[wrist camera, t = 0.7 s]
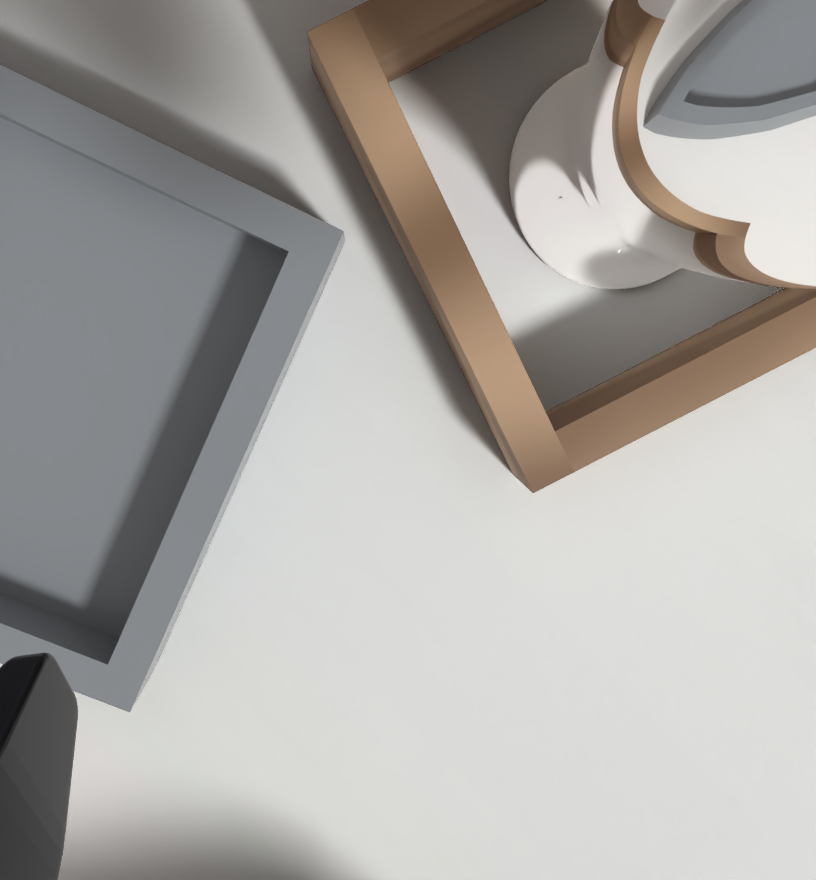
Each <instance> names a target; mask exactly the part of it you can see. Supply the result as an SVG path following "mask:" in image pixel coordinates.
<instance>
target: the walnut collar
mask: <svg viewBox="0 0 816 880" xmlns="http://www.w3.org/2000/svg"><path fill="white" fill-rule="evenodd" d="M545 1H547V0H369V1H367V2H365V3H363V4H361V5H359V6H357V7H355V8H353V9H351V10H349V11H347V12H345V13H344V14H342V15H340V16H338V17H336V18H334V19H332V20H330V21H328V22H326V23H324V24H322V25H320V26H318V27H316V28H315V29H313V30H311V31H309V32H307V36H308V43H309V49H310V56H311V63H312V68H313V70H314V73H315V75H316V77H317V79H318V81H319V83H320V85H321V87H322V89H323V91H324V93H325V95H326V97H327V99H328V101H329V103H330V105H331V107H332V109H333V111H334V113H335V115H336V117H337V119H338V121H339V123H340V125H341V127H342V129H343V131H344V133H345V135H346V137H347V139H348V141H349V143H350V145H351V147H352V149H353V152H354V154H355V156H356V158H357V160H358V162H359V164H360V166H361V168H362V170H363V172H364V174H365V176H366V178H367V180H368V182H369V184H370V186H371V188H372V190H373V192H374V194H375V196H376V198H377V200H378V202H379V204H380V206H381V208H382V210H383V212H384V214H385V216H386V218H387V220H388V222H389V224H390V226H391V228H392V230H393V233H394V235H395V237H396V239H397V241H398V243H399V245H400V247H401V249H402V251H403V253H404V255H405V257H406V259H407V261H408V263H409V265H410V267H411V269H412V271H413V273H414V275H415V277H416V279H417V281H418V283H419V285H420V287H421V289H422V291H423V293H424V295H425V297H426V299H427V301H428V303H429V305H430V307H431V309H432V312H433V314H434V316H435V318H436V320H437V322H438V324H439V326H440V328H441V330H442V332H443V334H444V336H445V338H446V340H447V342H448V344H449V346H450V348H451V350H452V352H453V354H454V356H455V358H456V360H457V362H458V364H459V366H460V368H461V370H462V372H463V374H464V376H465V378H466V380H467V382H468V384H469V386H470V388H471V390H472V393H473V395H474V397H475V399H476V401H477V403H478V405H479V407H480V409H481V411H482V413H483V415H484V417H485V419H486V421H487V423H488V425H489V427H490V429H491V431H492V433H493V435H494V437H495V439H496V441H497V443H498V445H499V447H500V449H501V451H502V453H503V455H504V457H505V459H506V461H507V463H508V465H509V467H510V469H511V472H512V474H513V475H514V476H515V477H516V478H517V479H518V480H520V481H521V482H522V483H523V484H524V485H525V486H526V487H527V488H528V489H529V490H530V491H531V492H533V493H534V492H536V491H538V490H540V489H542V488H544V487H546V486H548V485H550V484H552V483H554V482H556V481H558V480H560V479H561V478H563V477H565V476H567V475H569V474H571V473H573V472H575V471H577V470H579V469H581V468H583V467H585V466H587V465H589V464H591V463H593V462H594V461H596V460H598V459H600V458H602V457H604V456H606V455H608V454H610V453H612V452H614V451H616V450H618V449H620V448H622V447H624V446H626V445H627V444H629V443H631V442H633V441H635V440H637V439H639V438H641V437H643V436H645V435H647V434H649V433H651V432H653V431H655V430H657V429H659V428H661V427H662V426H664V425H666V424H668V423H670V422H672V421H674V420H676V419H678V418H680V417H682V416H684V415H686V414H688V413H690V412H692V411H694V410H695V409H697V408H699V407H701V406H703V405H705V404H707V403H709V402H711V401H713V400H715V399H717V398H719V397H721V396H723V395H725V394H727V393H728V392H730V391H732V390H734V389H736V388H738V387H740V386H742V385H744V384H746V383H748V382H750V381H752V380H754V379H756V378H758V377H760V376H761V375H763V374H765V373H767V372H769V371H771V370H773V369H775V368H777V367H779V366H781V365H783V364H785V363H787V362H789V361H791V360H793V359H794V358H796V357H798V356H800V355H802V354H804V353H806V352H808V351H810V350H812V349H814V348H816V289H790V288H786V289H784V290H782V291H780V292H778V293H776V294H774V295H772V296H770V297H769V298H767V299H765V300H763V301H761V302H759V303H757V304H755V305H753V306H751V307H749V308H747V309H745V310H743V311H741V312H739V313H738V314H736V315H734V316H732V317H730V318H728V319H726V320H724V321H722V322H720V323H718V324H716V325H714V326H712V327H710V328H708V329H706V330H705V331H703V332H701V333H699V334H697V335H695V336H693V337H691V338H689V339H687V340H685V341H683V342H681V343H679V344H677V345H675V346H673V347H672V348H670V349H668V350H666V351H664V352H662V353H660V354H658V355H656V356H654V357H652V358H650V359H648V360H646V361H644V362H642V363H640V364H639V365H637V366H635V367H633V368H631V369H629V370H627V371H625V372H623V373H621V374H619V375H617V376H615V377H613V378H611V379H609V380H607V381H606V382H604V383H602V384H600V385H598V386H596V387H594V388H592V389H590V390H588V391H586V392H584V393H582V394H580V395H578V396H576V397H574V398H573V399H571V400H569V401H567V402H565V403H563V404H561V405H559V406H557V407H555V408H553V409H551V410H549V411H547V412H545V410H544V408H543V406H542V403H541V401H540V399H539V397H538V395H537V393H536V391H535V389H534V387H533V385H532V383H531V380H530V378H529V376H528V374H527V372H526V370H525V368H524V366H523V364H522V362H521V359H520V357H519V355H518V353H517V351H516V349H515V347H514V345H513V343H512V341H511V339H510V336H509V334H508V332H507V330H506V328H505V326H504V324H503V322H502V320H501V318H500V316H499V313H498V311H497V309H496V307H495V305H494V303H493V301H492V299H491V297H490V295H489V293H488V290H487V288H486V286H485V284H484V282H483V280H482V278H481V276H480V274H479V272H478V270H477V267H476V265H475V263H474V261H473V259H472V257H471V255H470V253H469V251H468V249H467V246H466V244H465V242H464V240H463V238H462V236H461V234H460V232H459V230H458V228H457V226H456V223H455V221H454V219H453V217H452V215H451V213H450V211H449V209H448V207H447V205H446V203H445V200H444V198H443V196H442V194H441V192H440V190H439V188H438V186H437V184H436V182H435V180H434V177H433V175H432V173H431V171H430V169H429V167H428V165H427V163H426V161H425V159H424V157H423V154H422V152H421V150H420V148H419V146H418V144H417V142H416V140H415V138H414V136H413V134H412V131H411V129H410V127H409V125H408V123H407V121H406V119H405V117H404V115H403V113H402V110H401V108H400V106H399V104H398V102H397V100H396V98H395V96H394V94H393V92H392V90H391V87H390V85H389V83H388V82H390V81H392V80H394V79H396V78H398V77H400V76H402V75H404V74H406V73H408V72H410V71H412V70H413V69H415V68H417V67H419V66H421V65H423V64H425V63H427V62H429V61H431V60H433V59H435V58H437V57H439V56H441V55H443V54H444V53H446V52H448V51H450V50H452V49H454V48H456V47H458V46H460V45H462V44H464V43H466V42H468V41H470V40H472V39H474V38H475V37H477V36H479V35H481V34H483V33H485V32H487V31H489V30H491V29H493V28H495V27H497V26H499V25H501V24H503V23H505V22H506V21H508V20H510V19H512V18H514V17H516V16H518V15H520V14H522V13H524V12H526V11H528V10H530V9H532V8H534V7H535V6H537V5H539V4H541V3H543V2H545Z"/></svg>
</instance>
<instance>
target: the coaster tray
mask: <svg viewBox="0 0 816 880" xmlns="http://www.w3.org/2000/svg"><path fill="white" fill-rule="evenodd" d="M343 244H344V231H342V230H340V229H338V228H336V227H334V226H332V225H330V224H328V223H325V222H323V221H321V220H319V219H317V218H315V217H313V216H311V215H309V214H307V213H305V212H303V211H301V210H299V209H297V208H295V207H293V206H290V205H288V204H286V203H284V202H282V201H280V200H278V199H276V198H274V197H272V196H270V195H268V194H266V193H264V192H262V191H260V190H258V189H255V188H253V187H251V186H249V185H247V184H245V183H243V182H241V181H239V180H237V179H235V178H233V177H231V176H229V175H227V174H225V173H223V172H220V171H218V170H216V169H214V168H212V167H210V166H208V165H206V164H204V163H202V162H200V161H198V160H196V159H194V158H192V157H190V156H188V155H185V154H183V153H181V152H179V151H177V150H175V149H173V148H171V147H169V146H167V145H165V144H163V143H161V142H159V141H157V140H155V139H153V138H150V137H148V136H146V135H144V134H142V133H140V132H138V131H136V130H134V129H132V128H130V127H128V126H126V125H124V124H122V123H120V122H118V121H115V120H113V119H111V118H109V117H107V116H105V115H103V114H101V113H99V112H97V111H95V110H93V109H91V108H89V107H87V106H85V105H83V104H80V103H78V102H76V101H74V100H72V99H70V98H68V97H66V96H64V95H62V94H60V93H58V92H56V91H54V90H52V89H50V88H48V87H45V86H43V85H41V84H39V83H37V82H35V81H33V80H31V79H29V78H27V77H25V76H23V75H21V74H19V73H17V72H15V71H13V70H10V69H8V68H6V67H4V66H2V65H0V663H2V664H4V663H6V662H7V661H8V660H10V659H11V658H13V657H16V656H22V655H29V654H37V653H49V654H51V655H52V656H54V658H55V659H56V661H57V662H58V664H59V666H60V668H61V670H62V672H63V674H64V675H65V677H66V679H67V681H68V683H69V685H70V687H71V689H72V690H73V691H75V692H78V693H80V694H83V695H86V696H88V697H91V698H94V699H96V700H99V701H102V702H104V703H107V704H109V705H112V706H115V707H117V708H120V709H123V710H125V711H128V712H130V711H131V709H132V708H133V706H134V704H135V702H136V700H137V699H138V697H139V695H140V693H141V692H142V690H143V688H144V686H145V685H146V683H147V681H148V679H149V678H150V676H151V674H152V672H153V670H154V668H155V666H156V664H157V662H158V659H159V657H160V655H161V653H162V651H163V648H164V646H165V644H166V642H167V639H168V637H169V635H170V633H171V630H172V628H173V626H174V624H175V621H176V619H177V617H178V615H179V612H180V610H181V608H182V606H183V603H184V601H185V599H186V597H187V594H188V592H189V590H190V588H191V585H192V583H193V581H194V579H195V576H196V574H197V572H198V570H199V568H200V565H201V563H202V561H203V559H204V556H205V554H206V552H207V550H208V547H209V545H210V543H211V541H212V538H213V536H214V534H215V532H216V529H217V527H218V525H219V523H220V520H221V518H222V516H223V514H224V511H225V509H226V507H227V505H228V502H229V500H230V498H231V496H232V493H233V491H234V489H235V487H236V485H237V482H238V480H239V478H240V476H241V473H242V471H243V469H244V467H245V464H246V462H247V460H248V458H249V455H250V453H251V451H252V449H253V446H254V444H255V442H256V440H257V437H258V435H259V433H260V431H261V428H262V426H263V424H264V422H265V419H266V417H267V415H268V413H269V410H270V408H271V406H272V404H273V402H274V399H275V397H276V395H277V393H278V390H279V388H280V386H281V384H282V381H283V379H284V377H285V375H286V372H287V370H288V368H289V366H290V363H291V361H292V359H293V357H294V354H295V352H296V350H297V348H298V345H299V343H300V341H301V339H302V336H303V334H304V332H305V330H306V327H307V325H308V323H309V321H310V319H311V316H312V314H313V312H314V310H315V307H316V305H317V303H318V301H319V298H320V296H321V294H322V292H323V289H324V287H325V285H326V283H327V280H328V278H329V276H330V274H331V271H332V269H333V267H334V265H335V262H336V260H337V258H338V256H339V253H340V251H341V249H342V247H343Z"/></svg>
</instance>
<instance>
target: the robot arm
mask: <svg viewBox="0 0 816 880" xmlns="http://www.w3.org/2000/svg"><path fill="white" fill-rule="evenodd" d="M77 720H78V706H77V700H76V697H75V694H74V692H73V690H72V689H71V687H70V685H69V683H68V681H67V679H66V677H65V675H64V674H63V672H62V670H61V668H60V666H59V664H58V662H57V661H56V659H55V658H54V656H52V655H51V654H49V653H37V654H29V655H22V656H16V657H13V658H11V659H10V660H8V661H7V662H6V663H4V664H3V665H2V667H1V668H0V880H58V875H59V870H60V865H61V860H62V855H63V848H64V840H65V832H66V824H67V814H68V805H69V795H70V786H71V777H72V767H73V758H74V748H75V739H76V730H77Z"/></svg>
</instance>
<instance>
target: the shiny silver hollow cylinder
mask: <svg viewBox="0 0 816 880" xmlns="http://www.w3.org/2000/svg"><path fill="white" fill-rule="evenodd" d="M509 189H510V197H511V203H512V208H513V211H514V215H515V218H516V220H517V223H518V225H519V228H520V230H521V232H522V234H523V236H524V237H525V239H526V241H527V242H528V244H529V245H530V246H531V248H532V249H533V250H534V252H535V253H536V254H537V255H538V256H539V257H540V258H541V259H542V260H543V261H544V262H545V263H546V264H547V265H548V266H549V267H551V268H552V269H553V270H555V271H556V272H558V273H559V274H561V275H562V276H564V277H566V278H568V279H570V280H572V281H574V282H576V283H579V284H582V285H585V286H589V287H594V288H601V289H629V288H635V287H639V286H643V285H647V284H650V283H653V282H655V281H658V280H660V279H662V278H664V277H666V276H668V275H670V274H672V273H673V272H675V271H677V270H678V269H680V268H683V269H687V270H691V271H694V272H699V273H703V274H707V275H711V276H715V277H719V278H723V279H728V280H732V281H738V282H744V283H752V284H759V285H767V286H774V287H782V288H790V289H816V0H612V1H611V3H610V6H609V8H608V10H607V13H606V15H605V18H604V21H603V23H602V26H601V28H600V31H599V33H598V36H597V39H596V41H595V44H594V46H593V49H592V52H591V55H590V57H589V60H588V63H587V64H585V65H583V66H581V67H579V68H577V69H575V70H573V71H571V72H570V73H568V74H566V75H565V76H563V77H562V78H560V79H559V80H558V81H557V82H555V83H554V84H553V85H552V86H551V87H550V88H548V89H547V90H546V91H545V92H544V93H543V94H542V95H541V97H540V98H539V99H538V100H537V101H536V102H535V104H534V105H533V106H532V108H531V109H530V111H529V112H528V114H527V115H526V117H525V119H524V121H523V123H522V125H521V127H520V129H519V131H518V134H517V136H516V139H515V142H514V146H513V150H512V154H511V160H510V168H509Z"/></svg>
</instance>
